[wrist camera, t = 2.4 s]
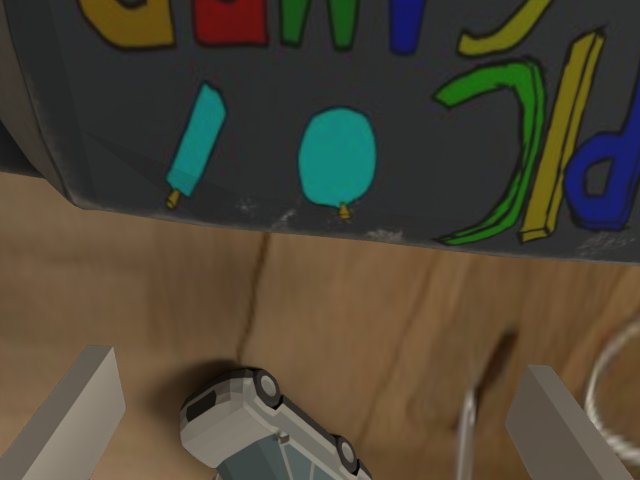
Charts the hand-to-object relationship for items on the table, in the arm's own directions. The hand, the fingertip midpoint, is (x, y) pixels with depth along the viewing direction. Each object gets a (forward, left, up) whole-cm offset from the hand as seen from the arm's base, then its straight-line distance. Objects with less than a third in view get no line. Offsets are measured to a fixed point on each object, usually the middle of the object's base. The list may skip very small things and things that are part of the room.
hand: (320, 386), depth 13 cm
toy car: (-2, -12, -8) cm, 15 cm away
